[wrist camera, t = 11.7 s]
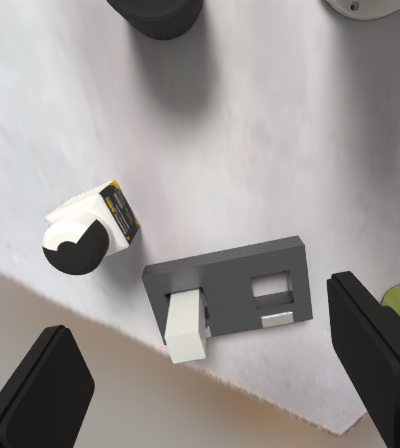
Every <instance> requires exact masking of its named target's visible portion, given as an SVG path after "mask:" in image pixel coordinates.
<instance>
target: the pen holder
mask: <svg viewBox="0 0 400 448" xmlns="http://www.w3.org/2000/svg"><path fill="white" fill-rule="evenodd" d="M202 1H203V0H107V2H108V3H109V4H110V5H111V6H112V7H113V8H114V9H115V10H116V11H117V12H118V13H119V14H120V15H121V16H123V17H124V18H125V19H126V20H127V21H128V22H129V23H130V24H132V25H133V26H134V27H135V28H136V29H138V30H139V31H140V32H142V33H143V34H145V35H146V36H149V37H151V38H154V39H159V40H169V39H173V38H176V37H178V36H180V35H182V34H184V33H185V32H186V31H187V30H188V29H189V28H190V27H191V26H192V25H193V24H194V22H195V20H196V19H197V17H198V15H199V12H200V9H201V6H202Z"/></svg>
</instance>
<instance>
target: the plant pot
mask: <svg viewBox="0 0 400 448" xmlns="http://www.w3.org/2000/svg"><path fill="white" fill-rule="evenodd" d="M386 305H387V306H390V307H391V308H393V309H394V310H395V311H396V312H397V314H398V315H399V316H400V285H397V286H395V287H393V288H391V289H390V290H388V291H387V292H386V293H385V295H384V299H383V301H382V303H381V306H386Z"/></svg>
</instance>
